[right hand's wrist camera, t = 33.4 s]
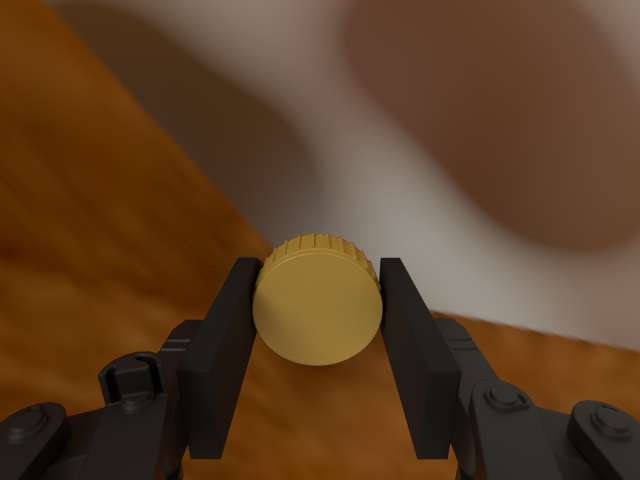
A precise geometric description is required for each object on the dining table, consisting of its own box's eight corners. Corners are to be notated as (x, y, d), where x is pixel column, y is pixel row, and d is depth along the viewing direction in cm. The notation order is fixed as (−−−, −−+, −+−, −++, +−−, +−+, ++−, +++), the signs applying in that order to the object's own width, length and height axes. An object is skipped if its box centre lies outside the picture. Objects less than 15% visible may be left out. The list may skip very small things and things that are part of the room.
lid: (247, 322, 15) (238, 352, 13) (272, 218, 14) (266, 235, 12) (355, 346, 16) (361, 378, 14) (392, 248, 14) (403, 270, 12)
